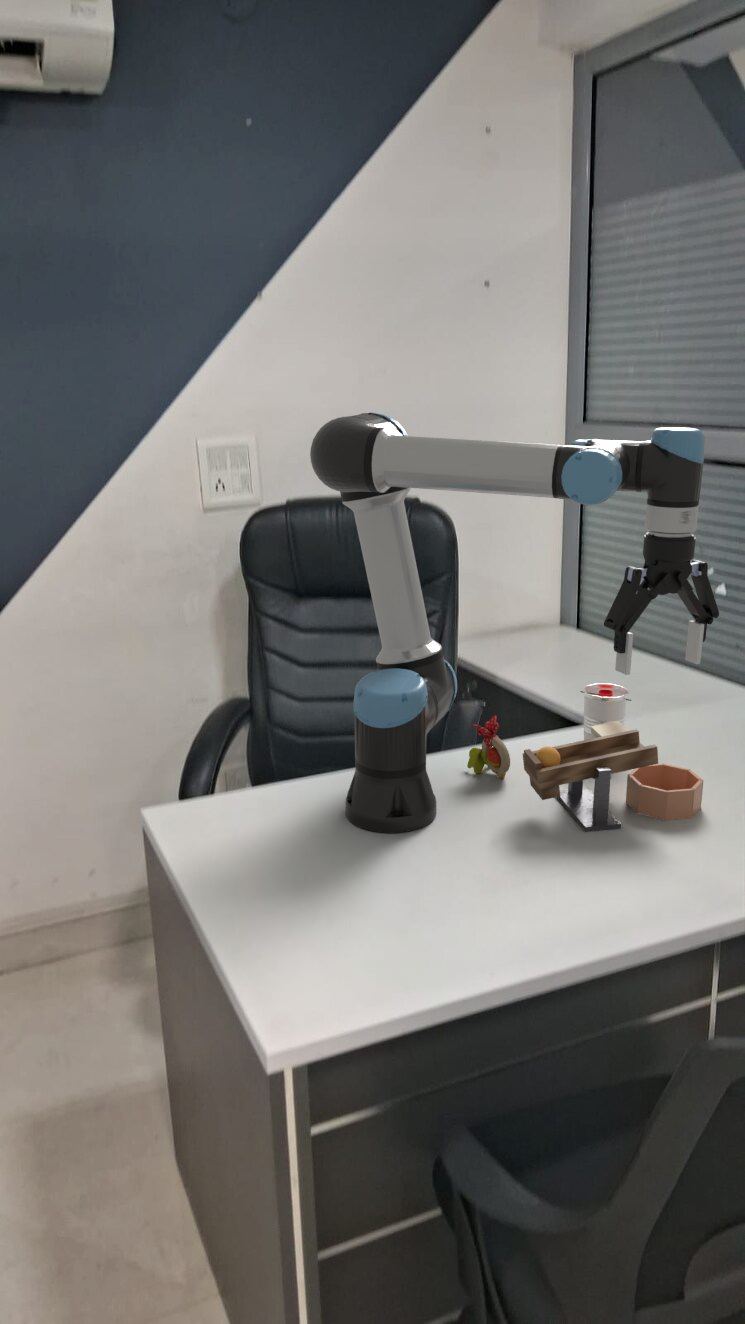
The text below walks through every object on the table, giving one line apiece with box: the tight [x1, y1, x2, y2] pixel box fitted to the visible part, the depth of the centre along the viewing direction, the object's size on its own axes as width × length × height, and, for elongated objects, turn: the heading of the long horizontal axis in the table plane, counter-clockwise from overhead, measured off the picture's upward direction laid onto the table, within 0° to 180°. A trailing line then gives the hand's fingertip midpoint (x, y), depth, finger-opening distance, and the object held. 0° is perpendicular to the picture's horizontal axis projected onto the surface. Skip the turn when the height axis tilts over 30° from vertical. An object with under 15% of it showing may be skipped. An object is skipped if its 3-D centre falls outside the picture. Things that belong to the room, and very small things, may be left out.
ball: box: [536, 746, 560, 769], centre depth 161 cm, size 4×4×4 cm
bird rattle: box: [466, 715, 511, 779], centre depth 179 cm, size 6×11×9 cm
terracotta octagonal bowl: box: [625, 763, 704, 821], centre depth 166 cm, size 11×11×5 cm
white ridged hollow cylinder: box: [580, 682, 632, 740], centre depth 189 cm, size 10×8×12 cm
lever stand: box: [556, 741, 622, 833], centre depth 163 cm, size 6×14×10 cm, turn 10°
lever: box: [522, 721, 659, 801], centre depth 166 cm, size 20×16×6 cm
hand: (658, 667), depth 156 cm, fingers open, 13 cm apart
